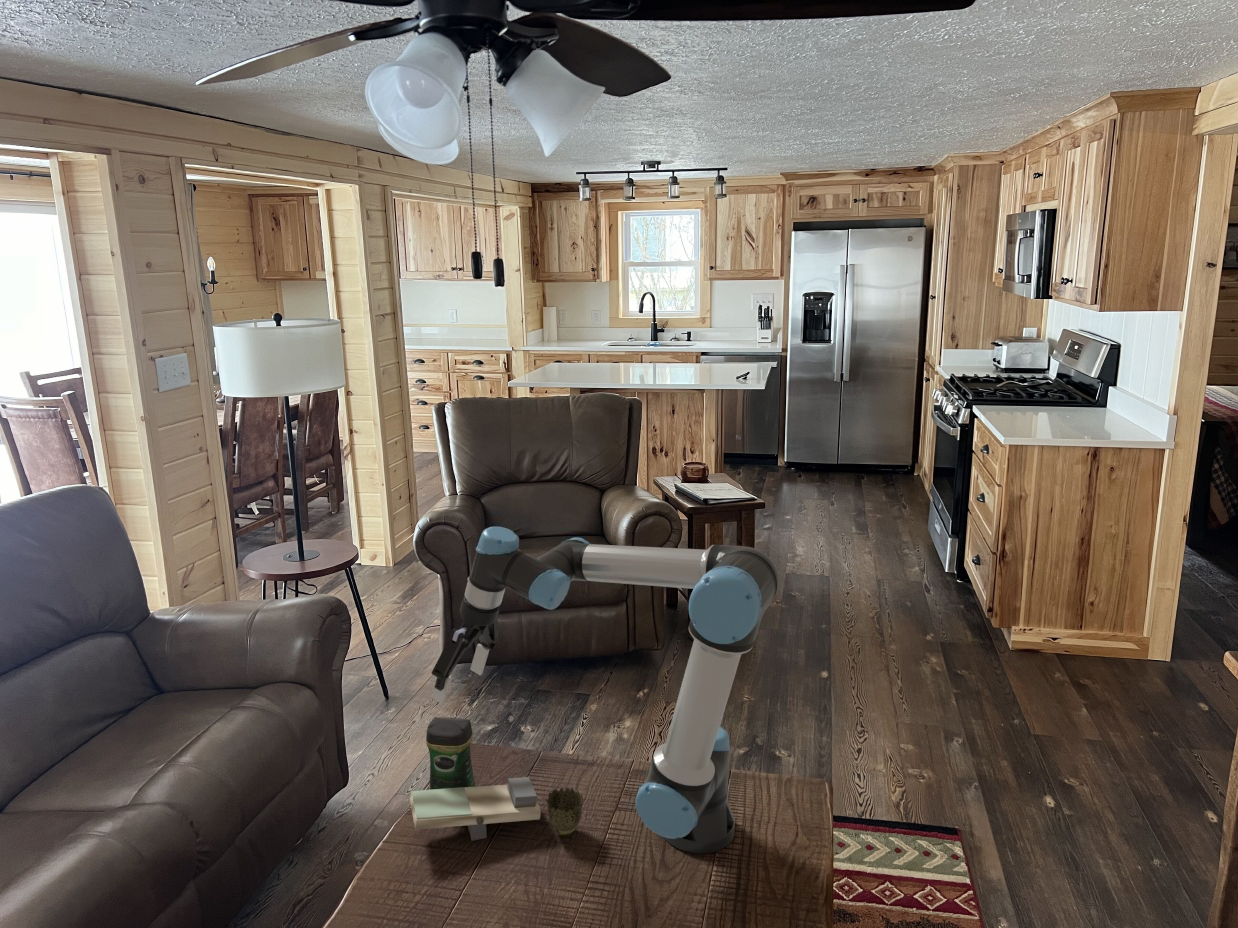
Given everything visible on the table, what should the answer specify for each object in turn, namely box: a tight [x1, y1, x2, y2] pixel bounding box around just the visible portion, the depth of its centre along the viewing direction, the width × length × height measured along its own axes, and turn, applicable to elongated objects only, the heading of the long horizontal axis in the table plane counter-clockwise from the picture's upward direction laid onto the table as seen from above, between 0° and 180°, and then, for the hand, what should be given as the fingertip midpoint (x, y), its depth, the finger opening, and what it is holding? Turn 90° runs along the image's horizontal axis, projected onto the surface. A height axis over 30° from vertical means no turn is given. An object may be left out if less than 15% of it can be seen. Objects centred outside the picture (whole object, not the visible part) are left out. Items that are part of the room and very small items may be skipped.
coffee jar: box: [425, 716, 476, 790], centre depth 185 cm, size 10×8×19 cm
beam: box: [409, 776, 542, 830], centre depth 175 cm, size 11×25×4 cm, turn 109°
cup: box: [546, 787, 584, 837], centre depth 175 cm, size 8×7×8 cm
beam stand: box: [466, 824, 487, 842], centre depth 176 cm, size 7×3×4 cm, turn 19°
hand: (457, 685), depth 179 cm, fingers open, 13 cm apart
